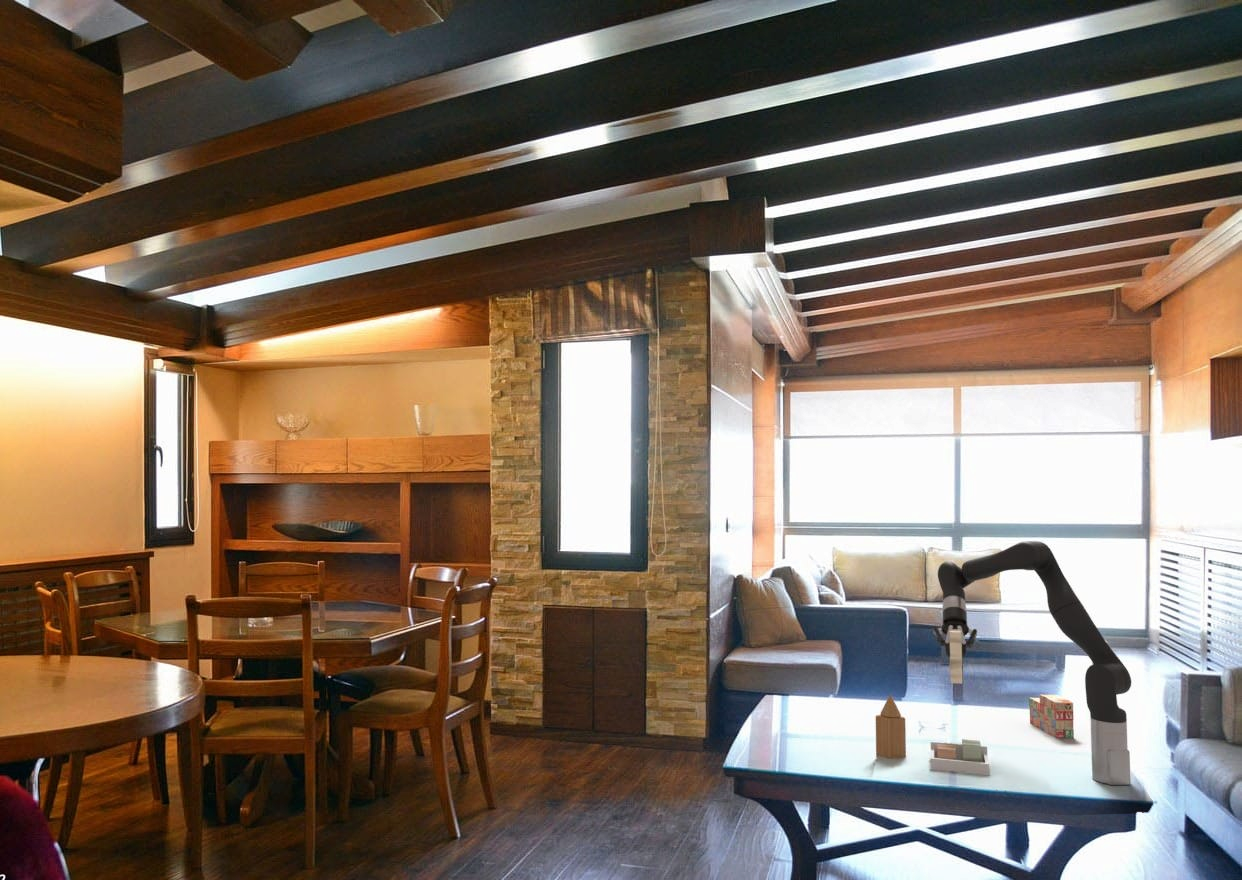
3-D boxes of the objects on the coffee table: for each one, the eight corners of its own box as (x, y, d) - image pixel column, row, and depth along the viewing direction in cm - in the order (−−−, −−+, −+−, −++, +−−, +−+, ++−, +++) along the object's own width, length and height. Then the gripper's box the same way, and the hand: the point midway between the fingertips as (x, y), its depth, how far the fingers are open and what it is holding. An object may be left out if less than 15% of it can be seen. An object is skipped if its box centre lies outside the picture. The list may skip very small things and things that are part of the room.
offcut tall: (981, 770, 260) (980, 745, 261) (963, 768, 262) (962, 744, 262) (980, 764, 266) (980, 740, 266) (962, 763, 267) (962, 739, 268)
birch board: (962, 683, 281) (961, 632, 283) (950, 682, 283) (949, 631, 284) (961, 679, 288) (960, 629, 289) (950, 678, 289) (949, 629, 290)
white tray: (989, 780, 256) (989, 757, 256) (930, 774, 261) (930, 751, 261) (985, 758, 278) (985, 736, 279) (931, 753, 283) (930, 732, 284)
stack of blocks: (1029, 723, 325) (1028, 688, 326) (1046, 723, 325) (1045, 689, 326) (1055, 738, 304) (1054, 701, 304) (1074, 738, 303) (1073, 701, 304)
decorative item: (906, 761, 274) (905, 695, 276) (890, 763, 271) (889, 696, 273) (891, 755, 280) (890, 691, 282) (875, 758, 277) (874, 692, 279)
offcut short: (955, 767, 263) (955, 749, 263) (937, 765, 265) (937, 748, 265) (955, 762, 268) (955, 745, 268) (937, 761, 269) (937, 744, 270)
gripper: (931, 604, 296) (932, 647, 284) (977, 606, 292) (980, 650, 279) (932, 619, 301) (932, 661, 289) (977, 621, 296) (979, 664, 284)
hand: (955, 655), depth 284 cm, fingers closed on birch board, 3 cm apart
